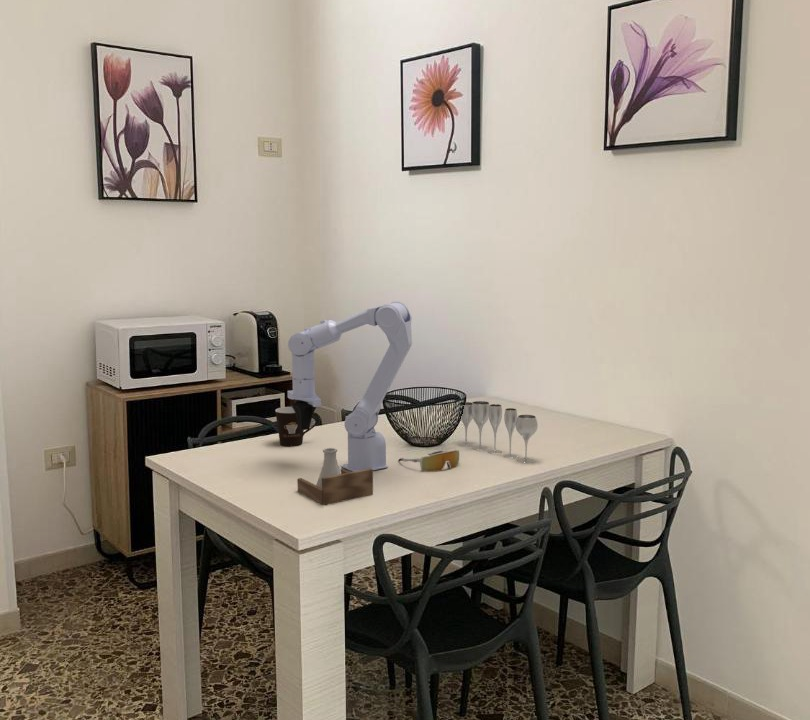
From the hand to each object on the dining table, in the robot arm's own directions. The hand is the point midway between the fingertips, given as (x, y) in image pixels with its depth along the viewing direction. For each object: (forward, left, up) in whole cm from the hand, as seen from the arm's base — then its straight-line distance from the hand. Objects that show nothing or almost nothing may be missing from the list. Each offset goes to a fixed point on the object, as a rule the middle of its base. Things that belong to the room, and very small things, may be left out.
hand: (304, 429), depth 216 cm
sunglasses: (-27, +19, -10) cm, 34 cm away
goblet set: (-49, +20, -10) cm, 54 cm away
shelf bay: (+6, +25, -9) cm, 27 cm away
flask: (+6, +23, -10) cm, 26 cm away
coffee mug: (-8, -20, -10) cm, 24 cm away
